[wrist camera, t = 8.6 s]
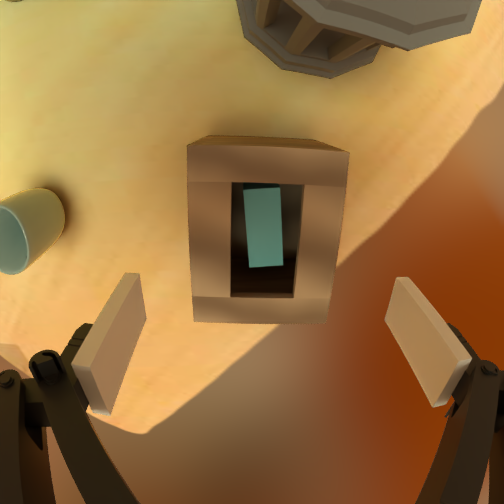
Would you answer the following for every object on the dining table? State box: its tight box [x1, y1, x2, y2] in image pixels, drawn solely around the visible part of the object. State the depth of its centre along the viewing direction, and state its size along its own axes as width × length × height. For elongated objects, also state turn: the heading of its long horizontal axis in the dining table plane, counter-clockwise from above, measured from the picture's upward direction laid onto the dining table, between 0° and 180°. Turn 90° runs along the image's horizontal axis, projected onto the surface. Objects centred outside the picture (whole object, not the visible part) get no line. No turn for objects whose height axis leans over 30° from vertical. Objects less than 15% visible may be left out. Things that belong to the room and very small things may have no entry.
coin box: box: [187, 136, 349, 324], centre depth 29 cm, size 14×11×12 cm
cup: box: [0, 188, 65, 275], centre depth 29 cm, size 8×8×10 cm
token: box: [243, 182, 283, 267], centre depth 30 cm, size 7×3×7 cm, turn 4°
